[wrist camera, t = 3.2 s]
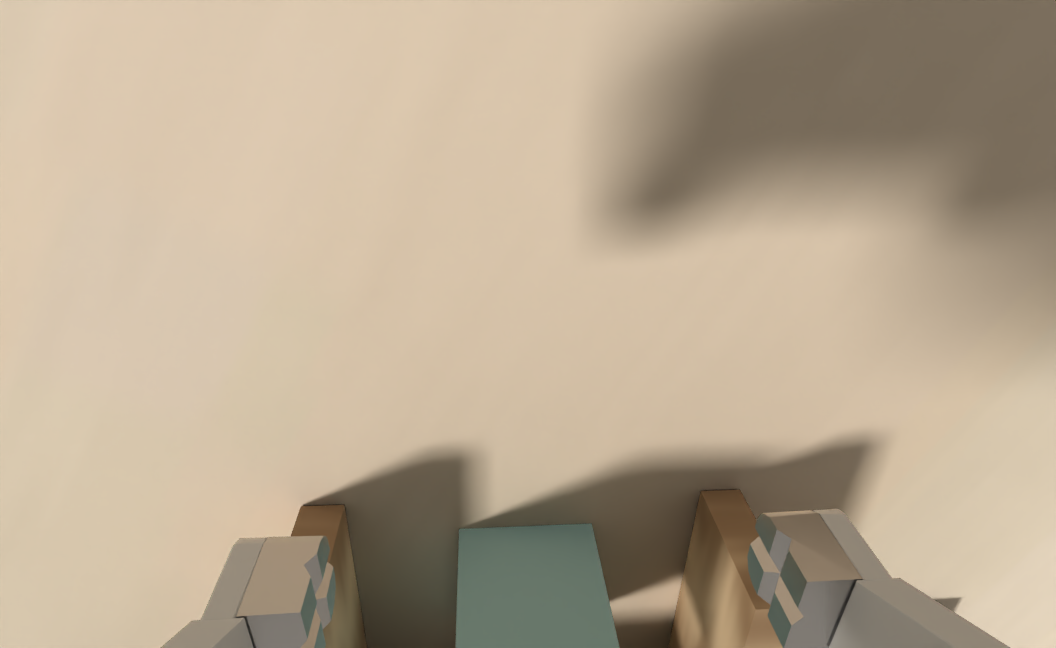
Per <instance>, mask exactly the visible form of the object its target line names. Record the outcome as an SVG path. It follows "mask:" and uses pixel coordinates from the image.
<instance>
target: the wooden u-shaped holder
mask: <svg viewBox="0 0 1056 648" xmlns="http://www.w3.org/2000/svg"><path fill="white" fill-rule="evenodd" d="M756 522H757V520H756V518H755V517H754V515H753V513H752V511H751V509H750V507H749V506H748V504H747V502H746V500H745V498H744V496H743V495H742V493H741V491H740V490H716V491H701V492H700V497H699V502H698V507H697V511H696V516H695V521H694V526H693V531H692V535H691V540H690V545H689V550H688V555H687V559H686V564H685V569H684V574H683V579H682V583H681V588H680V593H679V598H678V602H677V607H676V612H675V617H674V622H673V626H672V631H671V636H670V641H669V646H668V648H783V647H782V645H781V643H780V641H779V639H778V637H777V635H776V633H775V631H774V629H773V627H772V625H771V622H770V620H769V618H768V612H769V608H770V604H769V603H767V602H766V601H765V600H763V599H762V598H761V597H760V596H758V595H757V593H756V591H755V589H754V587H753V584H752V582H751V578H750V575H749V571H748V559H747V556H748V551H749V547H750V544H751V543H752V542H753V541H754V540H755V539H756V538H758V537H759V535H758V533H757V531H756V529H755V525H756ZM291 536H326V537H327V539H328V543H329V547H330V552H329V556H328V560H327V562H328V563H329V564H331V565H332V566H333V567H334V573H335V584H336V591H335V603H334V609H333V614H332V619H331V622H330V623H329V624H328V625H327V626H326V627H325V628H324V629H323V633H324V638H325V643H326V646H325V648H367V644H366V638H365V632H364V625H363V619H362V613H361V606H360V600H359V594H358V588H357V581H356V575H355V569H354V562H353V556H352V550H351V543H350V537H349V531H348V524H347V518H346V512H345V505H322V506H301V508H300V511H299V514H298V517H297V519H296V522H295V525H294V528H293V531H292V534H291Z"/></svg>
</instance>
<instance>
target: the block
mask: <svg viewBox="0 0 1056 648" xmlns="http://www.w3.org/2000/svg"><path fill="white" fill-rule="evenodd" d="M455 648H619V643H618V639H617V634H616V630H615V625H614V621H613V616H612V612H611V607H610V603H609V598H608V594H607V589H606V585H605V581H604V576H603V572H602V567H601V563H600V558H599V554H598V549H597V545H596V540H595V536H594V531H593V527H592V523H589V524H565V525H541V526H517V527H494V528H470V529H459V548H458V581H457V614H456V647H455Z"/></svg>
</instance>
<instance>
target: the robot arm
mask: <svg viewBox="0 0 1056 648" xmlns="http://www.w3.org/2000/svg"><path fill="white" fill-rule="evenodd" d="M755 529H756V531H757V533H758V535H759V537H758V538H756V539H755V540H754V541H753V542H752V543H751V544H750V547H749V551H748V556H747V559H748V571H749V575H750V578H751V582H752V584H753V587H754V589H755V591H756V593H757V595H758V596H760V597H761V598H762V599H763V600H765V601H766V602H767V603H769V604H770V608H769V612H768V618H769V620H770V622H771V625H772V627H773V629H774V631H775V633H776V635H777V637H778V639H779V641H780V643H781V645H782V647H783V648H823V647H829V648H1010V647H1008V646H1007V645H1005V644H1004V643H1002V642H1000V641H999V640H997V639H996V638H994V637H993V636H991V635H989V634H988V633H986V632H985V631H983V630H981V629H980V628H978V627H977V626H975V625H973V624H972V623H970V622H969V621H967V620H966V619H964V618H962V617H961V616H959V615H958V614H956V613H954V612H953V611H951V610H950V609H948V608H947V607H945V606H943V605H942V604H940V603H939V602H937V601H935V600H934V599H932V598H931V597H929V596H928V595H926V594H924V593H923V592H921V591H920V590H918V589H916V588H915V587H913V586H912V585H910V584H909V583H907V582H905V581H904V580H902V579H901V578H892V577H891V576H890V575H889V573H888V572H887V570H886V569H885V568H884V566H883V565H882V564H881V562H880V561H879V559H878V558H877V557H876V555H875V554H874V553H873V551H872V550H871V548H870V547H869V546H868V544H867V543H866V542H865V540H864V539H863V538H862V536H861V535H860V533H859V532H858V531H857V529H856V528H855V527H854V525H853V524H852V522H851V521H850V520H849V518H848V517H847V516H846V514H845V513H844V512H842V511H841V510H839V509H825V510H812V511H810V510H804V511H788V512H771V513H762V514H761V515H760V516H759V517H758V518H757V522H756V525H755ZM329 552H330V547H329V543H328V539H327V537H326V536H291V537H267V538H240V539H239V540H238V541H237V542H236V543H235V544H234V545H233V547H232V549H231V551H230V554H229V556H228V558H227V561H226V563H225V565H224V568H223V570H222V572H221V574H220V577H219V579H218V581H217V584H216V586H215V588H214V591H213V593H212V595H211V598H210V600H209V602H208V604H207V607H206V609H205V611H204V614H203V616H202V618H201V620H195V621H191V622H190V623H189V624H187V625H186V626H185V627H184V628H183V629H182V630H181V631H179V632H178V633H177V634H176V635H175V636H174V637H172V638H171V639H170V640H169V641H168V642H167V643H165V644H164V645H163V646H162V647H161V648H325V646H326V643H325V638H324V633H323V629H324V628H325V627H326V626H327V625H328V624H329V623H330V622H331V619H332V614H333V609H334V603H335V591H336V584H335V573H334V567H333V566H332V565H331V564H329V563H328V562H327V560H328V556H329Z"/></svg>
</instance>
